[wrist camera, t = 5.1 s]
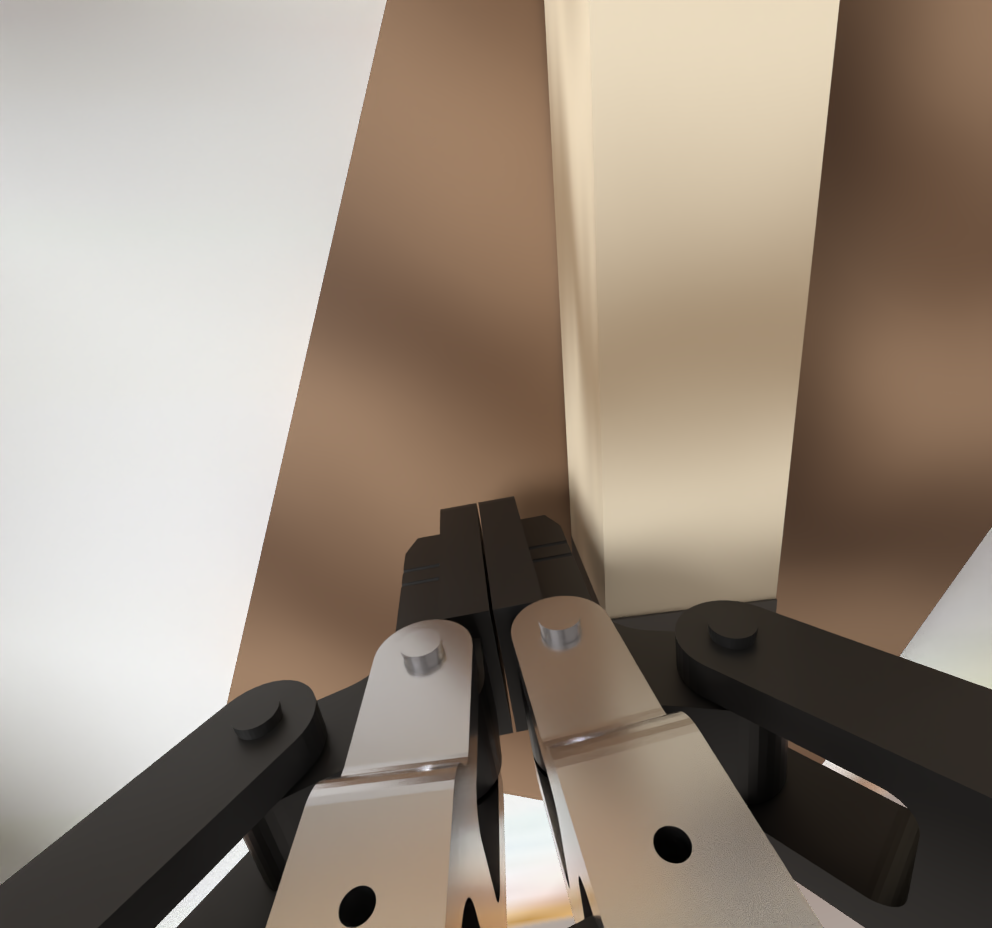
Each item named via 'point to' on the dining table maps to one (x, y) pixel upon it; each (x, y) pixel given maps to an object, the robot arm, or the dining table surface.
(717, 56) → the folding leg
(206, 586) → the dining table surface
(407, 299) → the walnut board
